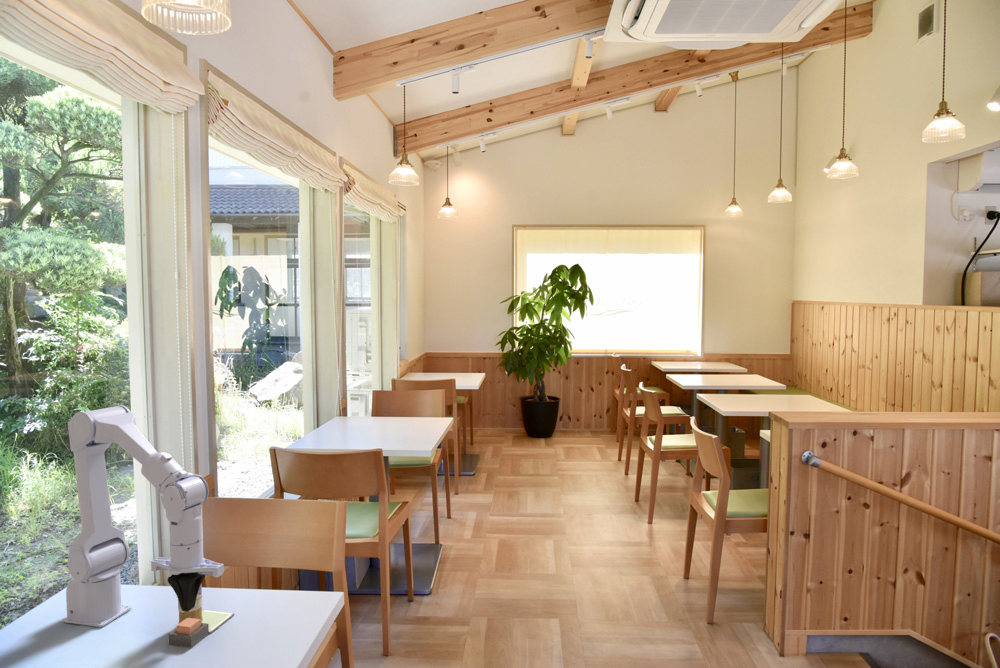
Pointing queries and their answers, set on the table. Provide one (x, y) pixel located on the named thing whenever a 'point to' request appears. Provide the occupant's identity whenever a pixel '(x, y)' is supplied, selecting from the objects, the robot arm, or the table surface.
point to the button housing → (188, 637)
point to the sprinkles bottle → (195, 611)
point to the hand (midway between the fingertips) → (188, 608)
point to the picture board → (215, 619)
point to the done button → (188, 626)
